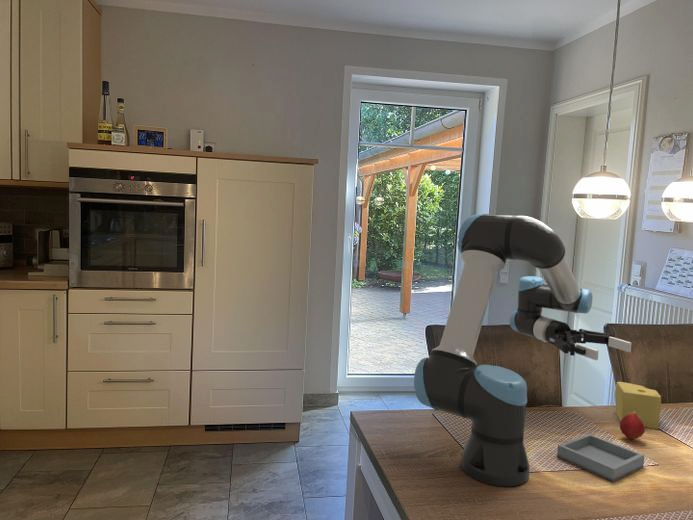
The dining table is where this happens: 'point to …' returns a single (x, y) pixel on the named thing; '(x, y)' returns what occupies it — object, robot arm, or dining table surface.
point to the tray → (601, 456)
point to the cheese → (638, 403)
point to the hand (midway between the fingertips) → (614, 351)
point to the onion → (632, 426)
